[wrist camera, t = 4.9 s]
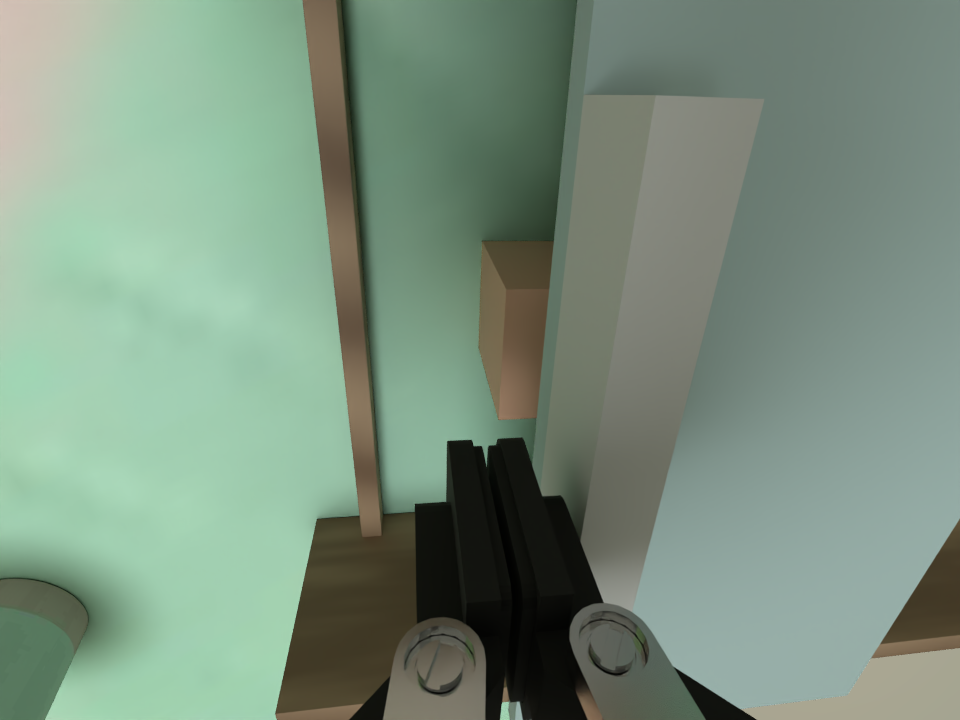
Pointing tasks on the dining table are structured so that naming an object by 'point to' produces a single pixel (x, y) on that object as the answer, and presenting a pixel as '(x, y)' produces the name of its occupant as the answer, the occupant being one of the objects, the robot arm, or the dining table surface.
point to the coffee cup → (35, 645)
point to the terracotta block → (514, 322)
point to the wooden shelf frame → (391, 537)
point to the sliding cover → (758, 326)
